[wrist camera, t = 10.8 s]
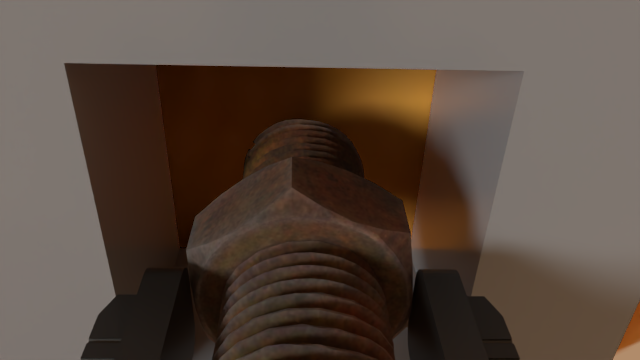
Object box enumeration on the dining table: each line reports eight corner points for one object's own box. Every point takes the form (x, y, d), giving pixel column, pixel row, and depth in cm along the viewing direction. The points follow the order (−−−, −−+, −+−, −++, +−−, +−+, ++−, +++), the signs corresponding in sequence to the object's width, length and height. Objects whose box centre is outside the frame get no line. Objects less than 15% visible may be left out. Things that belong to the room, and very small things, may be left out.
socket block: (639, -162, 13) (845, -150, 8) (501, 319, 22) (562, 470, 17) (-58, -187, 13) (-293, -190, 8) (81, 320, 21) (14, 476, 16)
